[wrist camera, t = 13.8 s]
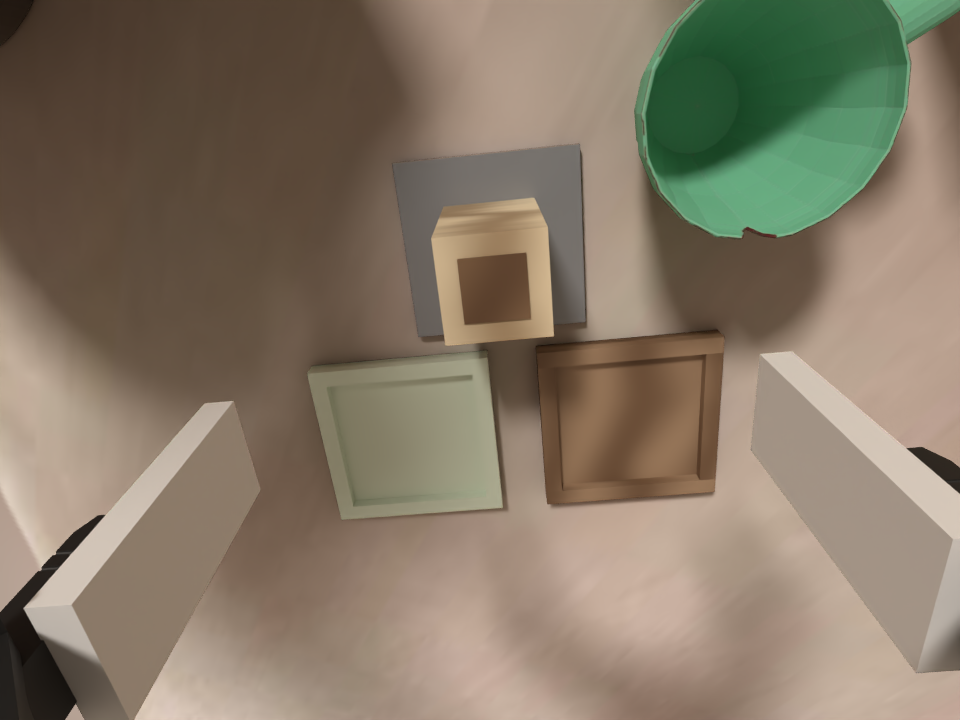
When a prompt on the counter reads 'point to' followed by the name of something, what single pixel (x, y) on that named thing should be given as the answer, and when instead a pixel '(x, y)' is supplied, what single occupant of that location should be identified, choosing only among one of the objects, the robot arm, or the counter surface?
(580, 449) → the tray walnut
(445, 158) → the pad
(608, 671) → the counter surface
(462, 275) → the letter block
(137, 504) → the robot arm
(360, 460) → the tray sage
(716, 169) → the mug
